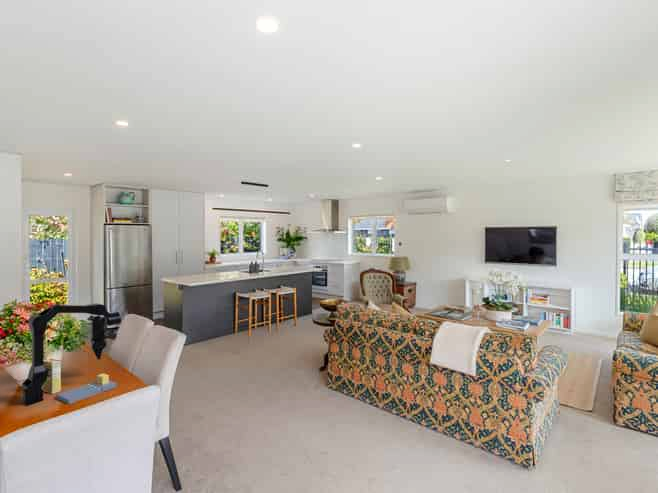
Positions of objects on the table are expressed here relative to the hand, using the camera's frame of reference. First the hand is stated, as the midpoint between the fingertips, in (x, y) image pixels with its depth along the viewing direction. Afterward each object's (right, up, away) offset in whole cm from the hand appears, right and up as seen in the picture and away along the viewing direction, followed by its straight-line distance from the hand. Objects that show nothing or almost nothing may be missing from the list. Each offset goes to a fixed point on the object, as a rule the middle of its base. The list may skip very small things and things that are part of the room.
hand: (98, 357), depth 184 cm
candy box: (-16, -14, -10) cm, 24 cm away
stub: (+7, -13, -6) cm, 16 cm away
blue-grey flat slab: (+1, -14, -16) cm, 21 cm away
